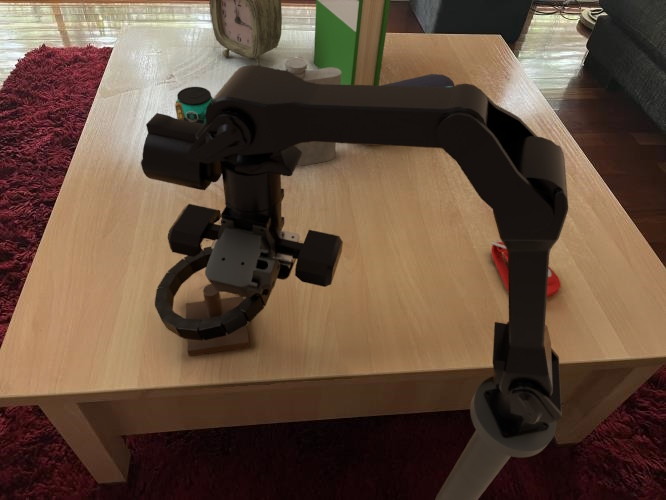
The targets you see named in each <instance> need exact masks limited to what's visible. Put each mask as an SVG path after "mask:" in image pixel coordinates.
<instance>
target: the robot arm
mask: <svg viewBox="0 0 666 500" xmlns="http://www.w3.org/2000/svg"><path fill="white" fill-rule="evenodd" d="M212 98H213V99H212V101H211V102H210V103H209V105H208V106H207V109H206V113H205V118H206V123H205V124H200V123H195V122H190V121H185V120H180V119H177V117H173V116H170V115H168V114H164V113H160V112H159V113H158V112H156V113H155V114H154V115H152V117H151V118H150V119H149V121H148V122H147V123H146V125H145V126H146V131H147V135H146V136H145V137H146V138H145V140H144V144H143V148H142V159H141V161H140V167H141V170H142V172H143V174H144V175H145V177H146V178H148V179H150V180H154V181H159V182H164V183H168V184H172V185H177V186H181V187H186V188H191V189H195V190H200V191H206V190H207V188H209V187H210V185H211V184H212V183H217V182H218V181H219V180H220V178H221V177H222V185H223V193H224V195H223V196H224V203H225V207H224V208H223V210H222V212H221V210H220V209H215V208H211V207H206V206H201V205H197V204H192V203H188V204H187V205H186V206H184V208H183V209H182V210H181V212H180V213H179V215H178V216H177V218H176V219H175V221H174V222H173V224H172V225H171V227H170V228H169V230H168V234H167V241H168V245H169V249H170V251H171V252H172V253H174V254H178V255H179V254H180V255H183V256H191V257H195V256H196V255H198V254H200V252H201V250H202V249H203V248H202V244H203V241H204V240H209V241H213V242H212V244H211V245H210V246H211V249H212V250H213V251H212V253H211V256H210V259H209V261H208V264H207V267H205V268H204V269H205V270H204V275H205V277H206V279H207V280H208V281H209V283H210V284H212V286H213V287H214V289H216V290H217V291H219V292H221V293H228V294H232V295H237V296H242V297H243V298H246V297H251V296H253V295H254V294H255V293H257V294H262V292H263V290H264V294H265V295H268V294H269V292H270V290H272V291H273V290H274V288H275V287H276V283H277V279H278V280H282V281H284V280H287V279H288V278H289V277H290V275H291V273H292V271H293V269H294V276H295V277H296V278H297V279H298V280H299V281H300V282H302V283H305V284H306V283H307V284H310V285H314V286H319V287H324V288H327V287H328V286H331V285H332V284H333V280H334V277H335V274H336V271H337V268H338V264H339V261H340V259H341V255H342V252H343V245H344V244H343V243H344V242H343V240H342V239H341V236H340V235H336V234H332V233H327V232H322V231H317V230H312V229H308V231H307V233H306V236H305V238H304V240H303V242H300V241H299V240H300V237H301V235H300V234H299V233H296V232H291V231H289V230H287V231H286V230H283V228H284V226H285V217H284V216H282V203H283V200H284V198H285V189H284V188H282V176H284V177H291V176H293V174H294V172H295V170H296V168H297V167H298V166H297V164H298V162H299V160H300V158H301V156H302V151H301V150H299V149H298V148H297V147H296V146H295V145H298V144H301V143H308V142H328V143H336V144H349V145H351V144H352V145H368V146H369V145H371V146H386V147H387V146H388V147H389V146H390V147H404V148H405V147H407V148H408V147H409V148H410V147H411V148H426V149H442V150H443V151H444V152H446V153H447V155H449V157H451V158H452V159H453V160H454V161H455V162H456V163H457V165H458V166H459V168H460V170H461V171H462V173H463V174H464V175H465V177H466V178H467V181H468V182H469V183H470V184H471V186H472V188H473V189H474V191H475V192H476V194H477V195H478V197H479V198H480V199H481V200H482V201H483V202H485V204H486V205H488V207H490V208H491V209H492V215H493V217H494V222H495V224H496V228H497V232H498V235H499V240H500V241H502V242H503V244H504V245H505V247H506V248H507V252H508V262H507V267H508V291H507V292H508V321H507V322H506V323H505V322H498V321H495V322H494V328H493V348H492V367H493V373H492V374H493V375H492V376H493V384H494V385H496V389H492V390H486V391H485V392H484V397H485V400H486V402H487V404H488V406H489V408H490V411H491V413H492V415H493V417H494V420H495V422H496V424H497V426H498V428H499V431H500V433H501V435H502V437H504V438H510V437H515V436H520V435H525V434H530V433H535V432H540V431H545V430H547V429H548V428H549V424H548V423H552V422H555V421H559V420H560V419H562V418H563V409H562V392H561V391H562V390H561V389H562V388H561V370H560V368H561V367H560V357H559V355H558V353H556V351H555V350H554V349H553V348H552V341H551V337H550V333H549V329H548V328H549V327H548V325H546V317H547V301H548V300H547V298H548V297H547V284H548V267H549V268H550V266H549V265H550V254H551V250H552V249H553V247H554V246H555V245H556V243H557V241H559V239H560V236H561V234H562V231H563V227H564V224H565V222H566V218H567V215H568V212H569V200H568V199H569V197H568V185H567V173H566V171H567V170H566V161H565V160H566V159H565V153H564V151H563V149H562V147H561V145H557V143H555V142H554V141H552V140H551V139H548V138H546V137H542V136H538V134H536V133H535V132H534V131H533V130H532V129H531V128H530V127H529V126H528V125H527V124H526V123H525V122H524V121H523V120H522V119H521V118H520V117H519V116H517V115H516V114H515V113H513V112H510V111H509V110H507V109H505V108H503V107H502V106H500V105H498V104H496V103H495V102H494V101H493V100H492V99H491V98H489V96H488V95H487V94H486V93H485V92H484V91H483V90H482V89H481V88H479V87H477V86H476V85H475V84H470V83H459V84H454V87H419V86H380V85H379V86H376V85H333V84H317V83H311V82H307V81H304V80H303V79H301V78H299V77H297V76H296V75H294V74H292V73H290V72H288V71H284V69H278V68H273V67H268V66H262V65H260V66H258V65H257V64H248V65H243V66H241V67H239V68H237V70H235V71H234V72H233V74H231V76H230V77H229V78H228V80H227V81H225V83H224V85H223V86H222V87H221V89H220V90H219V91H218V92H217V93H216V95H215V96H214V97H212ZM219 221H220V224H217V222H219ZM295 263H296V264H295ZM294 266H295V268H294ZM486 393H487V394H489V396H488V395H487V394H486ZM543 425H545V426H546V427H544V426H543ZM504 432H505V433H507V435H505V434H504Z"/></svg>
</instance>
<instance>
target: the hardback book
mask: <svg viewBox="0 0 666 500" xmlns="http://www.w3.org/2000/svg"><path fill="white" fill-rule="evenodd" d="M315 2H316V3H315V22H314V45H313V46H314V47H313V49H314V50H313V64H314V65H315V66H316V67H317V69H322V68H328V67H334V68H338V69H339V70H341V84H340V85H376V86H380V79H381V78H380V77H381V72H382V65H383V64H382V63H383V56H384V51H385V42H386V37H387V36H386V35H387V29H388V28H387V27H388V21H389V13H390V7H391V0H315Z"/></svg>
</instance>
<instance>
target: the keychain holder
mask: <svg viewBox="0 0 666 500" xmlns="http://www.w3.org/2000/svg"><path fill="white" fill-rule="evenodd" d="M489 244H490V245H491V257H492V259H493V261H494V264H495V266H496V268H497V271H498V273H499V275H500V277H501V280H502V281H503V284H504V286H505V288H506V291H507V292H508V264H506V262H507V263H508V252H507V248H506V247H505V245H504V244H503V242H502V241H501V240H496V242H495V241H490V242H489ZM505 260H506V262H505ZM561 286H562V284H561V280H560V278H559V277H558V275H557V274H556V273H555V271H554V270H553V269H552V268H551V267H550V266H549V267H548V284H547V298H550V297H553V296H554V295H556V294H557V293H558V292H559V291H560V288H561Z"/></svg>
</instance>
